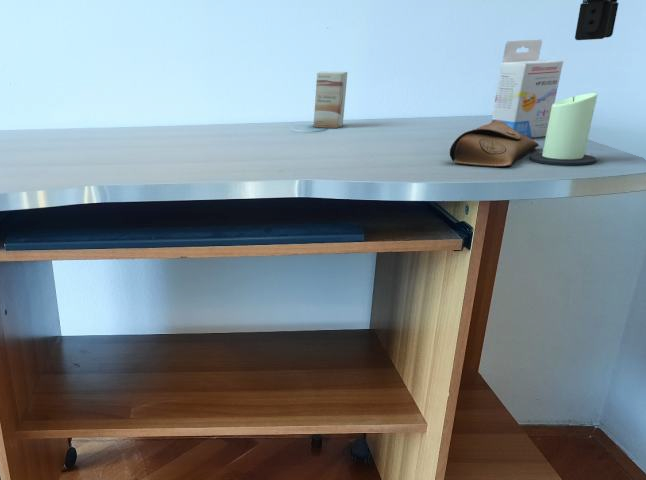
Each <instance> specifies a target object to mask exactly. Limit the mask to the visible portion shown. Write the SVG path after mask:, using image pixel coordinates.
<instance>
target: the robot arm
mask: <svg viewBox="0 0 646 480" xmlns="http://www.w3.org/2000/svg"><path fill="white" fill-rule="evenodd" d="M619 3H620V2H618V0H582V3H580V6H579V11H578V16H577V17H578V18H577V23H576V28H575V34H574V39H575V40H576V41H590V40H591V41H592V40H603V39H604V38H611V37H612V36H613V34H614V30H615V29H614V28H615V23H616V18H617V14H618V8H619Z"/></svg>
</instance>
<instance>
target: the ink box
mask: <svg viewBox="0 0 646 480" xmlns="http://www.w3.org/2000/svg"><path fill="white" fill-rule="evenodd" d="M542 43H543V41H542V39H523V40H507V41H506V42H505V44H504V45H505V46H504V49H503V57H502V61H501V64H500V68H499V75H498V80H497V86H496V92H495V99H494V103H493V110H492V116H491V122H492V121H494V120H499V121H502V122H504V123H505V124H507V125H508V126H510V127H511V128H512V129H513V130H515V131H516V132H518V133H519V134H522V135H524V136H526V137H529V138H531V139H533V138H544V137H546V133H547V128H548V123H549V118H550V113H551V108H552V105H553V104H554V103H556V97H557V92H558V88H559V83H560V79H561V74H562V69H563V65H564V60H548V59H547V60H546V59H545V60H544V59H539V58H540V54H541V48H542V45H543V44H542ZM523 47H524V49H528V50H527V51H525V52H524V51H523V52H522V51H521V52H517V50H518V49H521V48H523Z"/></svg>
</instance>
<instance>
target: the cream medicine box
mask: <svg viewBox="0 0 646 480" xmlns="http://www.w3.org/2000/svg"><path fill="white" fill-rule="evenodd" d="M347 81H348V71H334V70H333V71H323V70H322V71H319V72H316V86H315V99H314V100H315V101H314V113H313V128H323V129H326V128H327V129H338V128H341V127H342V126H344V117H345V105H346V95H347Z"/></svg>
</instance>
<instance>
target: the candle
mask: <svg viewBox="0 0 646 480" xmlns="http://www.w3.org/2000/svg"><path fill="white" fill-rule="evenodd" d="M598 94H599V93H597V92H590V93H584V94H579V95H574V96H571V97H567V98H565V99H564V98H563V99H562V100H559V101H557V102H556V101H555V103H554V104H553V105H552V108H551V113H550V118H549V123H548V128H547V133H546V136H545V139H544V144H543V149H542V153H543V154H542V156H543V157H545V158H548V159H555V160H578V159H581V158H583V156H584V155H585V153H586V152H585V151H586V147H587V144H588V138H589V133H590V129H591V125H592V120H593V117H594V112H595V108H596V104H597V99H598Z"/></svg>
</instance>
